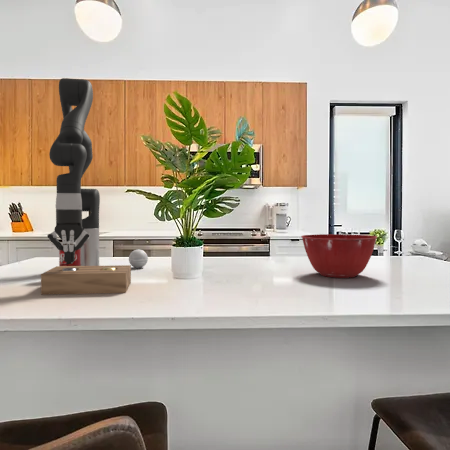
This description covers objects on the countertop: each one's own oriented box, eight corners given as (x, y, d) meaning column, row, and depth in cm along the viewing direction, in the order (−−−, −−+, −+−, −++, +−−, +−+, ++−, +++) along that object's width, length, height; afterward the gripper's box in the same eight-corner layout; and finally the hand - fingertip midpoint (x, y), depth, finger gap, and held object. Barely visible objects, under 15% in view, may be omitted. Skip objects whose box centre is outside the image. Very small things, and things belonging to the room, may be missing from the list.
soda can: (73, 281, 135) (73, 246, 135) (54, 280, 137) (54, 246, 136) (85, 277, 142) (85, 244, 142) (67, 276, 144) (67, 244, 143)
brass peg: (103, 285, 126) (103, 267, 125) (116, 285, 126) (116, 267, 126) (101, 288, 122) (101, 269, 121) (114, 287, 122) (114, 268, 122)
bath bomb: (130, 266, 171) (130, 248, 171) (148, 266, 172) (148, 248, 171) (127, 269, 163) (127, 250, 163) (147, 269, 164) (146, 250, 164)
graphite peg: (64, 286, 124) (64, 267, 124) (77, 286, 124) (77, 267, 124) (61, 289, 120) (61, 269, 120) (74, 288, 120) (74, 269, 120)
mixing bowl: (293, 278, 144) (294, 236, 144) (307, 268, 171) (308, 232, 170) (375, 284, 134) (376, 239, 133) (377, 272, 160) (377, 234, 159)
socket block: (56, 284, 129) (56, 266, 129) (130, 282, 133) (130, 265, 133) (41, 294, 113) (41, 274, 113) (125, 292, 117) (125, 272, 117)
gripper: (93, 208, 126) (93, 261, 127) (50, 208, 124) (50, 262, 125) (88, 208, 119) (89, 265, 119) (42, 208, 117) (43, 265, 117)
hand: (69, 263), depth 122 cm, fingers closed
